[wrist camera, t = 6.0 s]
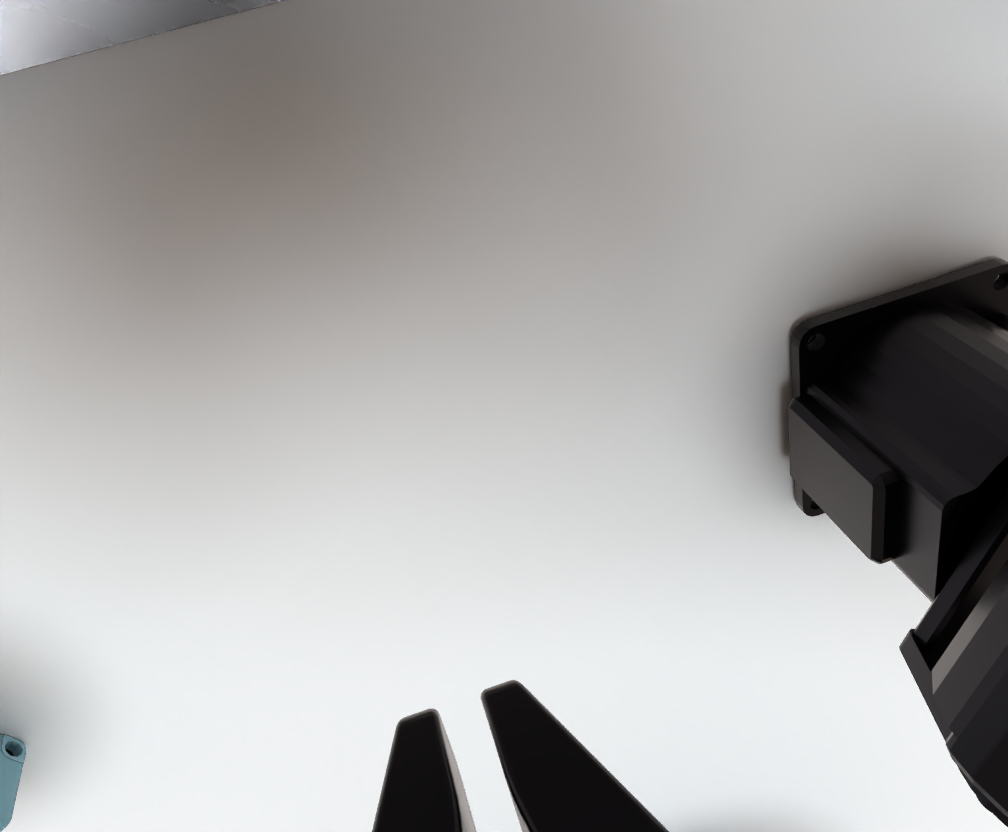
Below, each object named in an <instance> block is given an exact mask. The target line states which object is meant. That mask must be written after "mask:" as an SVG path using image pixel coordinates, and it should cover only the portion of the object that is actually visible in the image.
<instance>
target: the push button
mask: <svg viewBox="0 0 1008 832" xmlns="http://www.w3.org/2000/svg"><path fill="white" fill-rule="evenodd" d="M25 755H26V748H25V746H24V744H23V743H22V742H21V741H19V740H17V739H16V738H13V737H10V736H7V735H1V734H0V832H1V831H2V830H3V829H4V828H5V827H6V826H7V825H8V824H9V822H10V821H11V819H12V814H13V809H14V804H15V800H16V795H17V790H18V786H19V781H20V776H21V771H22V767H23V764H24V760H25Z"/></svg>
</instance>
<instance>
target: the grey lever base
mask: <svg viewBox="0 0 1008 832" xmlns="http://www.w3.org/2000/svg"><path fill="white" fill-rule="evenodd" d="M281 1H285V0H0V75H3V74H6V73H10V72H14V71H18V70H22V69H26V68H29V67H33V66H37V65H41V64H45V63H48V62H52V61H56V60H60V59H64V58H67V57H71V56H75V55H79V54H83V53H86V52H90V51H94V50H98V49H102V48H105V47H109V46H113V45H117V44H121V43H125V42H128V41H132V40H136V39H140V38H144V37H147V36H151V35H155V34H159V33H163V32H166V31H170V30H174V29H178V28H182V27H185V26H189V25H193V24H197V23H201V22H205V21H208V20H212V19H216V18H220V17H224V16H227V15H231V14H235V13H239V12H243V11H246V10H250V9H254V8H258V7H262V6H265V5H269V4H273V3H277V2H281Z"/></svg>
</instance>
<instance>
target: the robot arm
mask: <svg viewBox="0 0 1008 832" xmlns="http://www.w3.org/2000/svg"><path fill="white" fill-rule="evenodd" d="M998 275H999V277H998ZM997 277H998V279H997V280H996V281H995V279H996V278H997ZM994 281H995V282H994ZM815 334H817V335H816V338H815V339H814V341H813V342H812V343H810V344H808V341H809V339H810V338H811V337H812V336H814V335H815ZM791 363H792V397H793V399H792V400H791V402H790V405H789V407H788V422H789V452H790V475H791V477H792V478H793V479H794V480H795V500H796V504H797V505H798V507H799V508H800V509H801V510H802V511H803V512H804V513H805V514H806V515H808V516H817V515H821V514H823V513H826V514H827V515H828V516H829V517H830V518H831V519H832V520H833V522H834V523H835V524H836V525H837V526H838V527H839V528H840V529H841V530H842V531H843V532H844V533H845V534H846V535H847V536H848V537H849V538H850V540H851V541H852V542H853V543H854V544H855V545H856V546H857V547H858V548H859V549H860V550H861V551H862V552H863V553H864V554H865V555H866V556H867V557H868V558H869V559H870V560H872V561H874V562H876V563H878V564H882V563H885V562H888V561H890V560H891V561H892V562H893V563H894V564H895V565H896V566H897V567H898V568H899V569H900V570H901V571H902V572H903V573H904V574H905V575H906V576H907V577H908V578H909V579H910V580H911V581H912V582H913V583H914V584H915V585H916V586H917V587H918V588H919V589H920V590H921V592H922V593H923V594H924V595H925V596H926V597H927V598H928V599H929V600H930V601H931V602H932V604H931V606H930V607H929V609H928V611H927V612H926V614H925V615H924V617H923V618H922V620H921V621H920V623H919V624H918V626H917V627H916V629H911V630H910V631H909V632H908V634H907V636H906V637H905V639H904V640H903V642H902V643H901V645H900V646H899V648H900V651H901V653H902V655H903V657H904V659H905V661H906V663H907V665H908V667H909V669H910V671H911V673H912V675H913V677H914V679H915V681H916V683H917V685H918V687H919V689H920V691H921V693H922V695H923V697H924V699H925V701H926V703H927V705H928V707H929V709H930V711H931V713H932V715H933V717H934V719H935V721H936V723H937V725H938V727H939V729H940V731H941V733H942V735H943V737H944V739H945V742H946V746H947V748H948V751H949V753H950V756H951V758H952V759H953V761H954V762H955V763H956V764H957V766H958V768H959V770H960V772H961V773H962V775H963V777H964V778H965V780H966V781H967V783H968V785H969V786H970V788H971V789H972V790H973V792H974V793H975V794H976V796H977V798H978V800H979V801H980V803H981V804H982V805H983V806H984V807H985V808H986V809H987V810H989V811H990V812H992V813H993V814H994V815H995V816H996V817H997V818H998V819H999V820H1000V821H1001V822H1002V823H1004V824H1005V825H1006V826H1007V827H1008V262H1007V261H1005V260H1002V259H1000V258H999V259H992V260H989V261H986V262H983V263H980V264H977V265H974V266H971V267H968V268H965V269H962V270H959V271H955V272H952V273H949V274H946V275H943V276H940V277H937V278H934V279H931V280H928V281H925V282H922V283H919V284H916V285H913V286H909V287H906V288H903V289H900V290H897V291H894V292H891V293H888V294H885V295H882V296H879V297H876V298H873V299H870V300H866V301H863V302H860V303H857V304H854V305H851V306H848V307H845V308H842V309H839V310H836V311H833V312H830V313H827V314H824V315H820V316H817V317H814V318H811V319H808V320H806V321H804V322H802V323H801V324H800V325H799V326H798V327H797V328H796V329H795V331H794V332H793V334H792V338H791ZM812 500H813V501H812ZM481 700H482V704H483V707H484V710H485V713H486V717H487V720H488V723H489V726H490V730H491V733H492V736H493V739H494V742H495V746H496V749H497V752H498V755H499V759H500V762H501V765H502V768H503V772H504V775H505V778H506V781H507V784H508V788H509V791H510V794H511V797H512V800H513V803H514V806H515V810H516V813H517V816H518V819H519V822H520V825H521V829H522V832H669V831H668V830H667V829H666V828H665V827H664V826H663V825H662V824H661V823H660V822H659V821H658V820H657V819H656V818H655V817H654V816H653V815H652V814H651V813H650V812H649V811H648V810H647V809H646V808H645V807H644V806H643V805H642V804H641V803H640V802H639V801H638V800H637V799H636V798H635V797H634V796H633V795H632V794H631V793H630V792H629V791H628V790H627V789H626V788H625V787H624V786H623V785H622V784H621V783H620V782H619V781H618V780H617V779H616V778H615V777H614V776H613V775H612V774H611V773H610V772H609V771H608V770H607V769H606V768H605V767H604V766H603V765H602V764H601V763H600V762H599V761H598V760H597V759H596V758H595V757H594V756H593V755H592V754H591V753H590V752H589V751H588V750H587V749H586V748H585V747H584V746H583V745H582V744H581V743H580V742H579V741H578V740H577V739H576V738H575V737H574V736H573V735H572V734H571V733H570V732H569V731H568V730H567V729H566V728H565V727H564V726H563V725H562V724H561V723H560V722H559V721H558V720H557V719H556V718H555V717H554V716H553V715H552V714H551V713H550V712H549V711H548V710H547V709H546V708H545V707H544V706H543V705H542V704H541V703H540V702H539V701H538V700H537V699H536V698H535V697H534V696H533V695H532V694H531V693H530V692H529V691H528V690H527V689H526V688H525V687H524V686H523V685H522V684H521V683H520V682H518V681H516V680H511V681H508V682H505V683H502V684H499V685H496V686H493V687H490V688H488V689H485V690H484V691H483V692H482V694H481ZM372 832H476V828H475V825H474V821H473V818H472V814H471V811H470V807H469V804H468V800H467V797H466V793H465V790H464V786H463V782H462V779H461V775H460V772H459V769H458V765H457V762H456V759H455V756H454V753H453V751H452V748H451V745H450V742H449V740H448V737H447V734H446V731H445V728H444V726H443V723H442V720H441V717H440V715H439V713H438V711H437V710H435V709H427V710H424V711H422V712H419V713H416V714H413V715H410V716H407V717H404V718H403V719H401V720H400V721H399V722H398V725H397V727H396V730H395V735H394V739H393V743H392V748H391V752H390V756H389V761H388V765H387V769H386V774H385V778H384V782H383V787H382V791H381V795H380V799H379V804H378V808H377V812H376V817H375V821H374V825H373V830H372Z"/></svg>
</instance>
